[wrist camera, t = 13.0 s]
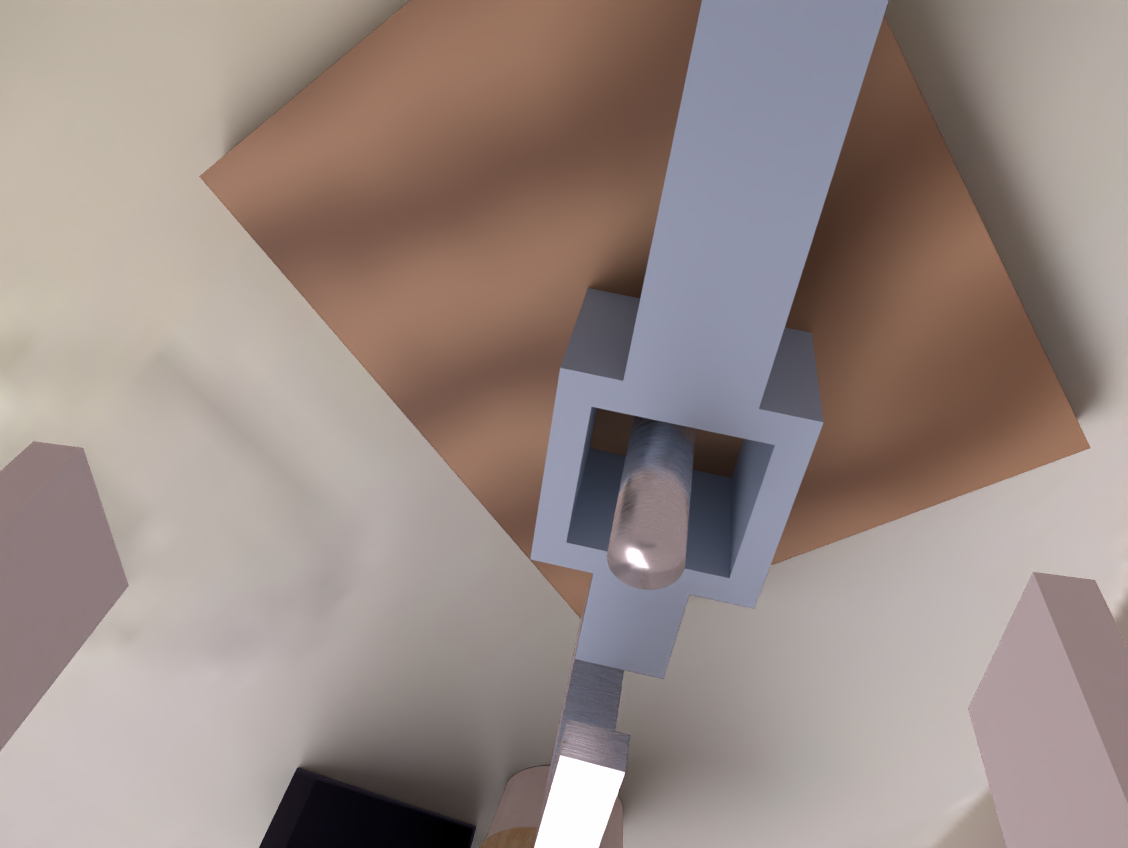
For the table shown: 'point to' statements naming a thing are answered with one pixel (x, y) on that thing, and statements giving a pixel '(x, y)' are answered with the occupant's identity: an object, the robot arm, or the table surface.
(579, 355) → the link
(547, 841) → the bracket
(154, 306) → the table surface
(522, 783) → the coffee cup
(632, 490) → the pintle
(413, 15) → the board
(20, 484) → the robot arm
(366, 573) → the table surface
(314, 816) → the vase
